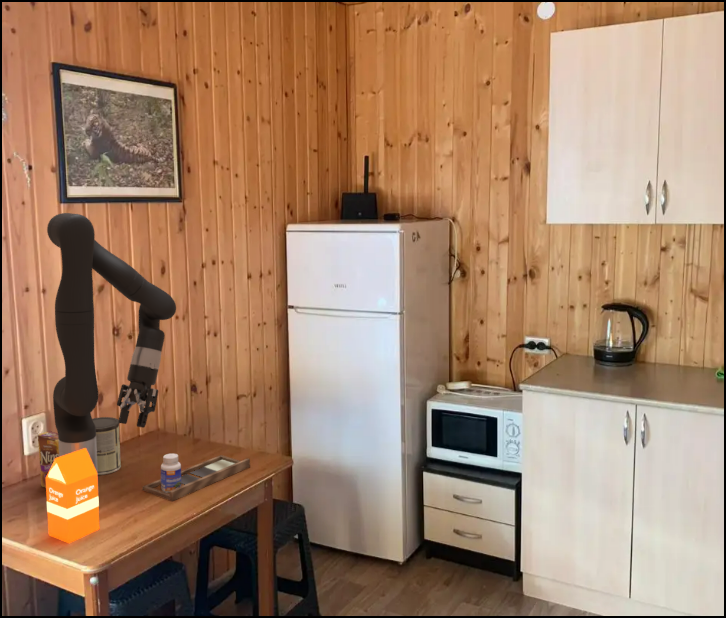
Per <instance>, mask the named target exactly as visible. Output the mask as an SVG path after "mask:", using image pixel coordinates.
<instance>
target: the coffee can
mask: <svg viewBox="0 0 726 618" xmlns="http://www.w3.org/2000/svg"><path fill="white" fill-rule="evenodd" d="M92 420H93V422H94V424H95V427H96V444H97V469H98V476H99V475H101V476H103V475H109V474H112V473H115V472H117V471H119V470H120V469H121V467H122V465H121V464H122V463H121V448H120V447H121V445H120V444H121V443H120V442H121V441H120V439H121V438H120V436H121V435H120V423H119V418H116V417H109V416H102V417H94V418H92Z"/></svg>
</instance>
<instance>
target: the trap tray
mask: <svg viewBox="0 0 726 618" xmlns="http://www.w3.org/2000/svg"><path fill="white" fill-rule="evenodd" d="M199 468H200V469H199ZM248 468H251V459H250V458H245V459H243V460H239V459H236V458H233V457H229V456H226V455H224V454H220V455H217V456H215V457H213V458H210V459H208V460H205V461H203V462H200V463H198V464H197V463H196V464H195V465H192V466H190V467H187V468H185V469H183V470H182V469H181V487H179V488H176V489H174V490H172V491H170V493H165V492H163V491H162V490H159V489H157V488H156V487H158V486H161V478H160V479H158V480H155V481H153V482H151V483H148V484H146V485H143V486H142V488H141V489H142V491H145V492H147V493H149V494H152V495H155V496H158V497H160V498H163V499H166V500H168V501H171V502H173V501H176V500H178V498H179V499H180V497H181V498H183V497H185V496H187V494H188V495H190V494H192V493H195V492H197V491H199V490H201V489H203V488H205V486H206V487H209V486H210V485H212V484H215V483H216V482H219V481H222V480H223V479H226V478H228V477H230V476H233V475H236V474H237V473H239V472H242V471H245V470H247V469H248ZM194 470H195V471H194ZM192 474H194V475H192ZM182 475H183V476H182ZM195 475H196V476H195ZM198 476H200V477H198ZM201 477H202V478H201ZM183 484H184V485H183ZM196 490H197V491H196ZM189 493H190V494H189Z"/></svg>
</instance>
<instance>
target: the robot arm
mask: <svg viewBox="0 0 726 618" xmlns="http://www.w3.org/2000/svg"><path fill="white" fill-rule="evenodd" d="M46 233H47V235H48V239H49V240H50V241H51V242H52V244H53V245H55V247H57V248H58V249H59V248H60V253H61V254H60V255H61V269H62V271H61V278H60V281H59V285H58V288H57V291H56V296H55V301H54V323H55V331H56V335H57V340H58V344H59V347H60V349H61V350H60V351H61V353H62V355H63V360H64V368H65V369H64V373H65V374H64V375H65V376H64V377H62V378H61V379H59V380H58V381H57V382H56V385H55V386H54V389H53V393H52V394H53V395H52V401H53V402H52V404H53V415H54V425H55V429H56V431H57V432H56V433H58V440H59V457H60V456H63V455H66V454H69V453H72V452H75V451H78V450H81V449H84V448H86V449H87V451H88V454H89V456H90V458H91V460H92V462H93V465H94V467H95V469H96V471H97V478H98V477H99V475H98V469H97V444H96V427H95V424H94V422H93V420H92V419H93V418H92V414H91V413H92V412H93V411H94V409H95V408H96V407H97V404H98V401H99V387H98V379H97V373H96V364H95V310H94V309H95V306H94V305H95V304H94V283H93V281H94V280H93V279H94V278H93V271H95V272H96V274H97V273H98V275H100V277H102V278H103V279H104V280H105V281H106V282H107V283H109V284H110V285H111V286H112V287H114V289H116V290H117V291H118V292H119V293H121V295H123V296H124V297H125V298H126V299H128V300H130V301H131V302H134V303H139V304H140V305H139V307H138V335H137V339H136V344H135V347H134V350H133V353H132V356H131V361H130V365H129V369H128V373H127V379H126V380H127V381H128V382H129V384H122V385H121V386H120V392H119V393H118V399H117V401H116V406H117V407H119V408H120V413H119V416H118V420H119V424H124V425H126V424H127V423H128V419H129V415H130V409H131V408H132V407H133V406H134V405H136V404H137V406H138V407H139V411H140V412H138V418H137V421H136V426H137V427H138V428H145V427H146V425H147V420H148V416H149V415H150V414H151V413H154V412H155V411H156V406H157V401H158V396H159V390H158V389H156V388H152V386H155V385H156V384H157V383H156V382H157V378H158V375H159V374H158V373H159V370H160V366H161V359H162V352H163V347H164V342H165V335H166V334H165V332H164V330H162V329H161V328H160V324H161V323H160V322H161V321H167V320H169V319H171V318H173V317H174V316H175V314H176V312H177V304H176V301H175V300H174V298H173V297H172V296H171V295H170V294H169V293H167V292H166V291H165V290H163V289H162V288H160V287H158V286H157V285H155V284H153V283H151V282H149V281H148V280H147V279H146V278H145V277H144V276H143V275H142V274H141V273H140V272H138V271H137V270H136V269H134V267H133V266H131V265H130V264H128V263H127V262H126V261H125V260H122V259H121V258H120V257H118V256H117V255H115V254H114V253H112V252H111V251H109V250H108V249H106V248H105V247H104V246H103V245H101V244H100V243H99V242H98V241H96V240H95V237H96V235H95V229H94V225H93V223H92V222H91V220H90V219H89V218H88V217H86V216H85V215H82V214H78V213H72V212H63V213H62V212H61V213H58V214H56V215H55V216H53V217H51V218H50V220H49V221H48V224H47V227H46ZM98 479H99V478H98ZM98 492H99V489H98Z"/></svg>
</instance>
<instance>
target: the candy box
mask: <svg viewBox="0 0 726 618" xmlns="http://www.w3.org/2000/svg"><path fill="white" fill-rule="evenodd" d="M37 442H38V445H37V446H38V457H39V469H40V471H39V472H40V485H41V487H42V488H45V489H46V476H47V474H48V472H49V470H50V468H51V466H52V464H53V462H54V460H55V458H58V457H59V440H58V432H55V431H51V430H47V431H44V432H42V433H39V434H38V435H37Z"/></svg>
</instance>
